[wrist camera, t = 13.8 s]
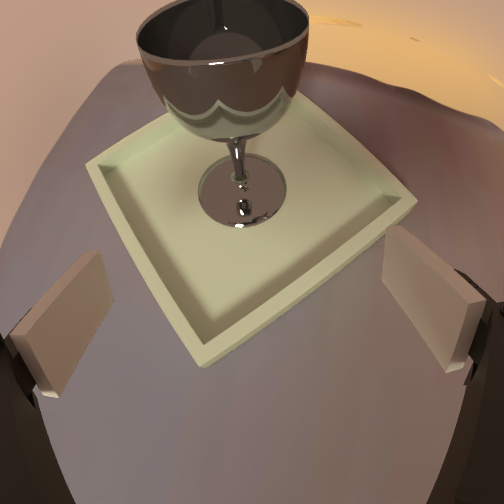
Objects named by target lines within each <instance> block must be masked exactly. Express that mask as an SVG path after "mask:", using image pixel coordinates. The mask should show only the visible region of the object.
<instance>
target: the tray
mask: <svg viewBox="0 0 504 504" xmlns="http://www.w3.org/2000/svg"><path fill="white" fill-rule="evenodd" d="M245 153H252V154H257V155H260V156H263V157H265V158H267V159H269V160H271V161H272V162H273V163H274V164H276V165H277V167H278V168H279V169H280V170H281V172H282V173H283V175H284V178H285V180H286V186H287V192H286V197H285V201H284V203H283V205H282V207H281V208H280V209H279V211H278V212H277V213H276V214H275V215H274V216H273V217H271V218H270V219H268V220H267V221H265V222H263V223H261V224H258V225H256V226H251V227H245V228H236V227H229V226H225V225H222V224H220V223H218V222H216V221H214V220H213V219H211V218H210V217H209V216H208V215H207V214H206V213H205V212H204V210H203V209H202V207H201V205H200V202H199V199H198V186H199V182H200V179H201V177H202V175H203V174H204V172H205V171H206V169H207V168H208V167H209V166H210V165H211V164H213V163H214V162H216V161H217V160H219V159H221V158H223V157H225V156H228V155H230V152H229V150H228V148H227V146H226V145H225V144H224V143H221V142H214V141H209V140H206V139H203V138H200V137H198V136H196V135H194V134H192V133H190V132H188V131H187V130H185V129H184V128H183V127H182V126H181V125H180V124H179V123H178V122H177V121H176V120H175V119H174V118H173V117H172V115H171V114H170V113H169V112H168V113H166V114H164V115H163V116H161V117H159V118H157V119H156V120H154V121H152V122H150V123H149V124H147V125H145V126H144V127H142V128H140V129H139V130H137V131H135V132H134V133H132V134H130V135H129V136H127V137H125V138H124V139H122V140H121V141H119V142H118V143H116V144H114V145H113V146H111V147H110V148H108V149H107V150H105V151H104V152H102V153H101V154H99V155H98V156H96V157H95V158H93V159H92V160H91V161H89V162H88V163H86V164H85V165H86V168H87V170H88V172H89V174H90V176H91V179H92V181H93V183H94V185H95V187H96V189H97V191H98V193H99V195H100V197H101V200H102V202H103V204H104V206H105V208H106V210H107V212H108V214H109V216H110V218H111V220H112V221H113V223H114V225H115V227H116V229H117V231H118V233H119V235H120V237H121V239H122V241H123V242H124V244H125V246H126V248H127V250H128V252H129V253H130V255H131V257H132V259H133V261H134V262H135V264H136V266H137V268H138V270H139V271H140V273H141V275H142V277H143V278H144V280H145V282H146V284H147V285H148V287H149V289H150V290H151V292H152V294H153V295H154V297H155V299H156V300H157V302H158V304H159V305H160V307H161V309H162V310H163V312H164V313H165V315H166V317H167V318H168V320H169V322H170V323H171V325H172V326H173V328H174V329H175V331H176V333H177V334H178V336H179V337H180V339H181V340H182V342H183V343H184V345H185V346H186V348H187V349H188V351H189V352H190V354H191V355H192V357H193V358H194V360H195V361H196V363H197V364H198V366H199V367H202V368H207V367H209V366H210V365H212V364H213V363H215V362H216V361H218V360H219V359H221V358H222V357H224V356H225V355H226V354H228V353H229V352H231V351H232V350H234V349H235V348H237V347H238V346H239V345H241V344H242V343H244V342H245V341H247V340H248V339H249V338H251V337H252V336H254V335H255V334H257V333H258V332H259V331H261V330H262V329H264V328H265V327H266V326H268V325H269V324H270V323H272V322H273V321H275V320H276V319H277V318H279V317H280V316H281V315H283V314H284V313H285V312H287V311H288V310H290V309H291V308H292V307H294V306H295V305H296V304H298V303H299V302H300V301H302V300H303V299H304V298H306V297H307V296H308V295H309V294H311V293H312V292H313V291H315V290H316V289H317V288H319V287H320V286H321V285H323V284H324V283H325V282H326V281H328V280H329V279H330V278H332V277H333V276H334V275H335V274H337V273H338V272H339V271H340V270H342V269H343V268H344V267H345V266H347V265H348V264H349V263H350V262H352V261H353V260H354V259H355V258H357V257H358V256H359V255H360V254H362V253H363V252H364V251H365V250H367V249H368V248H369V247H370V246H371V245H373V244H374V243H375V242H376V241H377V240H379V239H380V238H381V237H382V236H383V235H385V234H386V226H395V225H396V224H398V223H399V222H400V221H401V220H402V219H403V218H405V217H406V216H407V215H408V213H409V212H410V211H411V210H412V208H413V207H414V206H415V204H416V203H417V202H418V200H417V199H416V198H415V197H414V196H413V195H412V194H411V193H410V192H409V191H408V189H407V188H406V187H405V186H404V185H403V184H402V183H401V182H400V181H399V180H398V179H397V178H396V177H395V176H394V175H393V174H392V173H391V172H390V171H389V170H388V169H387V168H386V167H385V166H384V165H383V164H382V163H381V162H380V161H379V160H378V159H377V158H376V157H375V156H374V155H372V154H371V153H370V152H369V151H368V150H367V149H366V148H365V147H364V146H363V145H362V144H361V143H360V142H359V141H357V140H356V139H355V138H354V137H353V136H352V135H351V134H350V133H348V132H347V131H346V130H345V129H344V128H343V127H342V126H341V125H339V124H338V123H337V122H336V121H335V120H334V119H332V118H331V117H330V116H329V115H328V114H326V113H325V112H324V111H323V110H322V109H320V108H319V107H318V106H317V105H315V104H314V103H313V102H312V101H310V100H309V99H308V98H307V97H305V96H304V95H303V94H302V93H300V92H299V91H298V90H297V92H296V94H295V96H294V99H293V101H292V104H291V105H290V107H289V109H288V110H287V112H286V113H285V115H284V116H283V118H282V119H281V120H280V121H279V122H278V123H277V124H276V125H274V126H273V127H272V128H270V129H269V130H267V131H266V132H265V133H263V134H261V135H259V136H257V137H255V138H252V139H249V140H248V142H247V144H246V149H245Z"/></svg>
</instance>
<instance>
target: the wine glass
mask: <svg viewBox="0 0 504 504" xmlns="http://www.w3.org/2000/svg"><path fill="white" fill-rule="evenodd" d="M308 34H309V16H308V13H307V11H306V10H305V9H304V8H303V7H302V6H301V5H300V4H299V3H297V2H296V1H294V0H176V1H174V2H172V3H170V4H168V5H166V6H164V7H162V8H160V9H159V10H157V11H156V12H154V13H153V14H151V15H150V16H149V17H148V18H147V19H146V20H145V21H144V22H143V23H142V24H141V26H140V27H139V29H138V31H137V33H136V41H137V46H138V49H139V52H140V55H141V58H142V61H143V64H144V67H145V69H146V72H147V74H148V77H149V79H150V81H151V84H152V86H153V88H154V90H155V91H156V93H157V95H158V97H159V98H160V100H161V102H162V103H163V105H164V106H165V107H166V109H167V110H168V111H169V113H170V114H171V115H172V117H173V118H174V119H175V120H176V121H177V122H178V123H179V124H180V125H181V126H182V127H183V128H184V129H185V130H187V131H188V132H190V133H192V134H194V135H196V136H198V137H200V138H203V139H206V140H209V141H214V142H221V143H224V144H225V145H226V146H227V148H228V150H229V152H230V155H228V156H225V157H223V158H221V159H219V160H217V161H216V162H214V163H213V164H211V165H210V166H209V167H208V168H207V169H206V171H205V172H204V174H203V175H202V177H201V179H200V182H199V186H198V199H199V202H200V205H201V207H202V209H203V210H204V212H205V213H206V214H207V215H208V216H209V217H210V218H211V219H213V220H214V221H216V222H218V223H220V224H222V225H225V226H229V227H236V228H245V227H251V226H256V225H258V224H261V223H263V222H265V221H267V220H268V219H270V218H271V217H273V216H274V215H275V214H276V213H277V212H278V211H279V209H280V208H281V207H282V205H283V203H284V201H285V197H286V192H287V186H286V180H285V178H284V175H283V173H282V172H281V170H280V169H279V168H278V167H277V165H276V164H274V163H273V162H272V161H271V160H269V159H267V158H265V157H263V156H260V155H257V154H252V153H245V149H246V144H247V142H248V140H249V139H252V138H255V137H257V136H259V135H261V134H263V133H265V132H266V131H267V130H269V129H270V128H272V127H273V126H274V125H276V124H277V123H278V122H279V121H280V120H281V119H282V118H283V116H284V115H285V113H286V112H287V110H288V109H289V107H290V105H291V104H292V101H293V99H294V96H295V94H296V92H297V89H298V86H299V83H300V80H301V76H302V73H303V70H304V66H305V60H306V53H307V47H308V36H309V35H308Z"/></svg>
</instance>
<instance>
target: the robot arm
mask: <svg viewBox="0 0 504 504" xmlns="http://www.w3.org/2000/svg"><path fill="white" fill-rule="evenodd" d="M381 281H382V282H383V283H384V285H385V286H386V287H387V289H388V290H389V291H390V293H391V294H392V295H393V297H394V298H395V300H396V301H397V302H398V304H399V305H400V306H401V308H402V309H403V311H404V312H405V313H406V315H407V316H408V318H409V319H410V321H411V322H412V323H413V325H414V326H415V328H416V329H417V331H418V332H419V333H420V335H421V336H422V338H423V339H424V341H425V342H426V344H427V345H428V347H429V348H430V350H431V351H432V353H433V354H434V356H435V357H436V359H437V360H438V362H439V363H440V365H441V367H442V368H443V370H444V371H445V373H448V372H451V371H455V370H458V369H461V368H463V367H464V364H465V362H466V359H467V357H468V354H469V355H470V357H471V358H472V359H473V361H474V362H473V364H472V366H471V369H470V371H469V373H468V376H467V378H466V380H465V382H464V385H467V386H466V391H465V395H464V399H463V403H462V406H461V410H460V414H459V417H458V421H457V424H456V427H455V430H454V434H453V437H452V440H451V443H450V446H449V449H448V452H447V454H446V457H445V460H444V462H443V465H442V468H441V470H440V473H439V475H438V478H437V480H436V483H435V485H434V487H433V490H432V492H431V494H430V496H429V499H428V501H427V503H426V504H504V302H499V303H496V302H495V301H494V300H493V299H492V298H491V297H490V296H489V295H488V294H487V293H486V292H485V291H484V290H482V289H481V288H479V286H478V285H477V284H476V283H475V282H473V280H471V279H470V278H469V277H468V276H467V275H466V274H464V273H462V272H460V271H458V270H456V269H453V268H451V267H450V266H449V265H448V264H447V263H446V262H445V261H443V260H442V259H441V258H440V257H439V256H438V255H436V254H435V253H434V252H433V251H432V250H430V249H429V248H428V247H427V246H426V245H424V244H423V243H422V242H421V241H420V240H418V239H417V238H416V237H415V236H413V235H412V234H411V233H410V232H408V231H407V230H406V229H405V228H403V227H402V226H386V237H385V250H384V261H383V271H382V280H381ZM113 302H114V299H113V295H112V292H111V289H110V285H109V282H108V278H107V275H106V271H105V268H104V264H103V260H102V257H101V253H100V250H96V251H86V252H85V253H84V254H83V255H82V256H81V257H80V258H79V259H78V260H77V261H76V262H75V263H74V264H73V265H72V266H71V267H70V268H69V269H68V270H67V271H66V272H65V273H64V274H63V275H62V276H61V277H60V278H59V280H58V281H57V282H56V283H55V284H54V285H53V286H52V287H51V288H50V289H49V290H48V291H47V292H46V293H45V294H44V295H43V297H42V298H41V299H40V300H39V301H38V302H37V303H36V304H35V305H34V306H33V307H32V308H31V309H30V310H29V311H28V312H27V313H26V314H25V315H24V317H23V318H22V319H21V320H20V321H19V323H17V325H16V326H15V327H14V328H13V329H12V331H11V332H10V333H9V334H8V335H7V336H6V338H5V339H4V340H3V338H2V336H1V334H0V504H76V503H75V501H74V499H73V497H72V495H71V493H70V491H69V488H68V486H67V484H66V481H65V479H64V477H63V474H62V472H61V469H60V467H59V464H58V462H57V459H56V457H55V454H54V451H53V448H52V446H51V443H50V440H49V437H48V434H47V431H46V428H45V425H44V422H43V418H42V415H41V411H40V408H39V404H38V401H37V397H36V396H35V394H34V392H33V391H32V390H33V388H34V386H35V385H36V384H37V386H38V387H39V389H40V391H41V392H42V394H43V395H44V396H50V397H56V398H59V397H60V395H61V394H62V392H63V390H64V388H65V386H66V384H67V382H68V380H69V378H70V377H71V375H72V373H73V371H74V369H75V367H76V366H77V364H78V362H79V360H80V358H81V357H82V355H83V353H84V351H85V350H86V348H87V346H88V344H89V343H90V341H91V339H92V337H93V336H94V334H95V332H96V331H97V329H98V327H99V325H100V324H101V322H102V320H103V319H104V317H105V316H106V314H107V312H108V311H109V309H110V307H111V306H112V304H113Z"/></svg>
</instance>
